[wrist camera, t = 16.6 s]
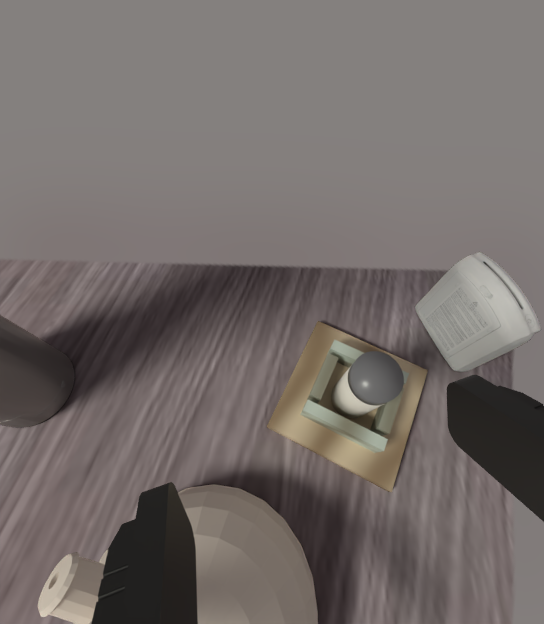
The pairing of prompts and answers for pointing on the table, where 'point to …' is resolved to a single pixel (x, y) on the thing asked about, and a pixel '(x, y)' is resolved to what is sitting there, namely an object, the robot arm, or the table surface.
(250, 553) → the kettle
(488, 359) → the photo printer
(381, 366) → the grey and white cylinder
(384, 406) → the holder
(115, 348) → the table surface
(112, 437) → the table surface
